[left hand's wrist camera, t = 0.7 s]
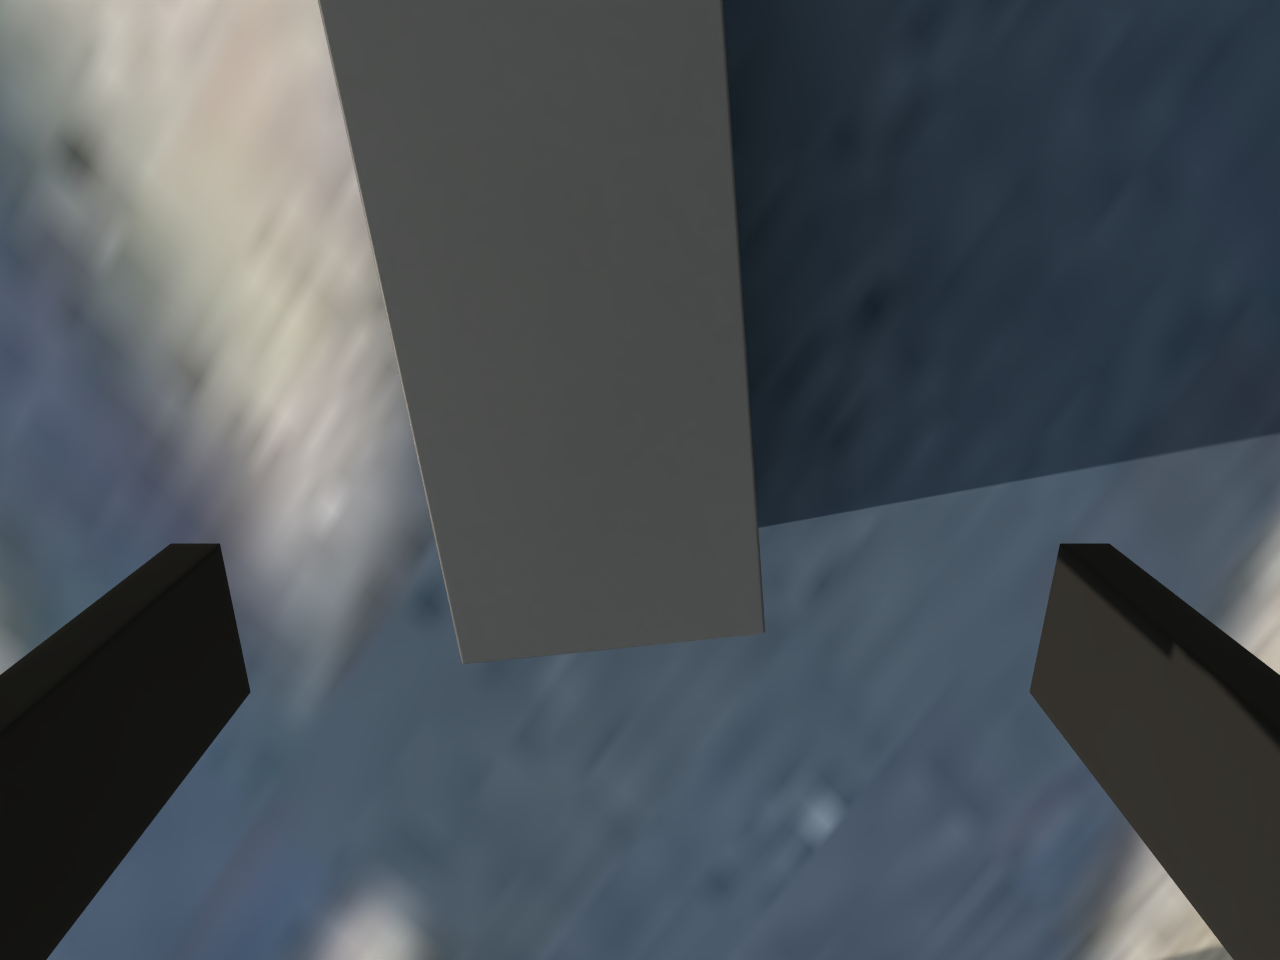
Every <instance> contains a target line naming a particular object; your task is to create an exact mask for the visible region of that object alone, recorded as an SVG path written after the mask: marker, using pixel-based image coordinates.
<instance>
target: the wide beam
mask: <svg viewBox="0 0 1280 960" xmlns="http://www.w3.org/2000/svg"><path fill="white" fill-rule="evenodd" d="M318 3H319V7H320V12H321V17H322V21H323V26H324V30H325V35H326V40H327V44H328V49H329V53H330V58H331V63H332V67H333V72H334V76H335V81H336V86H337V90H338V95H339V99H340V104H341V109H342V113H343V118H344V122H345V127H346V132H347V136H348V141H349V145H350V150H351V155H352V159H353V164H354V168H355V173H356V178H357V182H358V187H359V191H360V196H361V201H362V205H363V210H364V214H365V219H366V224H367V228H368V233H369V237H370V242H371V247H372V251H373V256H374V260H375V265H376V270H377V274H378V279H379V283H380V288H381V293H382V297H383V302H384V306H385V311H386V316H387V320H388V325H389V329H390V334H391V338H392V343H393V348H394V352H395V357H396V361H397V366H398V371H399V375H400V380H401V384H402V389H403V394H404V398H405V403H406V407H407V412H408V417H409V421H410V426H411V430H412V435H413V440H414V444H415V449H416V453H417V458H418V463H419V467H420V472H421V476H422V481H423V486H424V490H425V495H426V499H427V504H428V509H429V513H430V518H431V522H432V527H433V532H434V536H435V541H436V545H437V550H438V555H439V559H440V564H441V568H442V573H443V578H444V582H445V587H446V591H447V596H448V601H449V605H450V610H451V614H452V619H453V624H454V628H455V633H456V637H457V642H458V647H459V651H460V656H461V660H462V663H463V664H469V663H479V662H489V661H499V660H509V659H518V658H528V657H538V656H548V655H558V654H567V653H577V652H587V651H597V650H607V649H616V648H626V647H636V646H646V645H656V644H666V643H675V642H685V641H695V640H705V639H715V638H724V637H734V636H744V635H754V634H763V633H764V632H765V622H764V607H763V592H762V578H761V563H760V548H759V533H758V518H757V503H756V488H755V473H754V458H753V443H752V428H751V413H750V398H749V383H748V368H747V353H746V338H745V323H744V308H743V294H742V279H741V264H740V249H739V234H738V219H737V204H736V189H735V174H734V159H733V144H732V129H731V114H730V99H729V84H728V69H727V54H726V39H725V24H724V10H723V0H318Z"/></svg>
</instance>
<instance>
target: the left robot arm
mask: <svg viewBox="0 0 1280 960" xmlns="http://www.w3.org/2000/svg"><path fill="white" fill-rule="evenodd" d="M249 693H250V688H249V683H248V678H247V673H246V668H245V663H244V659H243V654H242V649H241V644H240V639H239V634H238V629H237V625H236V620H235V615H234V610H233V605H232V600H231V595H230V591H229V586H228V581H227V576H226V571H225V566H224V561H223V556H222V552H221V547H220V544H170V545H168V546H167V547H166V548H165V549H163V550H162V551H161V552H159V553H158V554H157V555H155V556H154V557H153V558H152V559H150V560H149V561H148V562H146V563H145V564H144V565H142V566H141V567H140V568H139V569H137V570H136V571H135V572H133V573H132V574H131V575H130V576H128V577H127V578H126V579H124V580H123V581H122V582H120V583H119V584H118V585H117V586H115V587H114V588H113V589H111V590H110V591H109V592H107V593H106V594H105V595H104V596H102V597H101V598H100V599H98V600H97V601H96V602H94V603H93V604H92V605H91V606H89V607H88V608H87V609H85V610H84V611H83V612H82V613H80V614H79V615H78V616H76V617H75V618H74V619H72V620H71V621H70V622H69V623H67V624H66V625H65V626H63V627H62V628H61V629H59V630H58V631H57V632H56V633H54V634H53V635H52V636H50V637H49V638H48V639H47V640H45V641H44V642H43V643H41V644H40V645H39V646H37V647H36V648H35V649H34V650H32V651H31V652H30V653H28V654H27V655H26V656H24V657H23V658H22V659H21V660H19V661H18V662H17V663H15V664H14V665H13V666H12V667H10V668H9V669H8V670H6V671H5V672H4V673H2V674H1V675H0V960H46V959H47V958H48V957H49V955H50V954H51V953H52V951H53V950H54V949H55V948H56V946H57V945H58V944H59V942H60V941H61V940H62V938H63V937H64V936H65V934H66V933H67V932H68V931H69V929H70V928H71V927H72V925H73V924H74V923H75V921H76V920H77V919H78V917H79V916H80V915H81V913H82V912H83V911H84V910H85V908H86V907H87V906H88V904H89V903H90V902H91V900H92V899H93V898H94V896H95V895H96V894H97V893H98V891H99V890H100V889H101V887H102V886H103V885H104V883H105V882H106V881H107V879H108V878H109V877H110V875H111V874H112V873H113V872H114V870H115V869H116V868H117V866H118V865H119V864H120V862H121V861H122V860H123V858H124V857H125V856H126V855H127V853H128V852H129V851H130V849H131V848H132V847H133V845H134V844H135V843H136V841H137V840H138V839H139V838H140V836H141V835H142V834H143V832H144V831H145V830H146V828H147V827H148V826H149V824H150V823H151V822H152V820H153V819H154V818H155V817H156V815H157V814H158V813H159V811H160V810H161V809H162V807H163V806H164V805H165V803H166V802H167V801H168V800H169V798H170V797H171V796H172V794H173V793H174V792H175V790H176V789H177V788H178V786H179V785H180V784H181V782H182V781H183V780H184V779H185V777H186V776H187V775H188V773H189V772H190V771H191V769H192V768H193V767H194V765H195V764H196V763H197V762H198V760H199V759H200V758H201V756H202V755H203V754H204V752H205V751H206V750H207V748H208V747H209V746H210V744H211V743H212V742H213V741H214V739H215V738H216V737H217V735H218V734H219V733H220V731H221V730H222V729H223V727H224V726H225V725H226V724H227V722H228V721H229V720H230V718H231V717H232V716H233V714H234V713H235V712H236V710H237V709H238V708H239V706H240V705H241V704H242V703H243V701H244V700H245V699H246V697H247V696H248V695H249ZM1030 693H1031V695H1032V696H1033V697H1034V699H1035V700H1036V701H1037V703H1038V704H1039V705H1040V706H1041V708H1042V709H1043V710H1044V712H1045V713H1046V714H1047V716H1048V717H1049V718H1050V720H1051V721H1052V722H1053V724H1054V725H1055V726H1056V727H1057V729H1058V730H1059V731H1060V733H1061V734H1062V735H1063V737H1064V738H1065V739H1066V741H1067V742H1068V743H1069V744H1070V746H1071V747H1072V748H1073V750H1074V751H1075V752H1076V754H1077V755H1078V756H1079V758H1080V759H1081V760H1082V762H1083V763H1084V764H1085V765H1086V767H1087V768H1088V769H1089V771H1090V772H1091V773H1092V775H1093V776H1094V777H1095V779H1096V780H1097V781H1098V782H1099V784H1100V785H1101V786H1102V788H1103V789H1104V790H1105V792H1106V793H1107V794H1108V796H1109V797H1110V798H1111V800H1112V801H1113V802H1114V803H1115V805H1116V806H1117V807H1118V809H1119V810H1120V811H1121V813H1122V814H1123V815H1124V817H1125V818H1126V819H1127V820H1128V822H1129V823H1130V824H1131V826H1132V827H1133V828H1134V830H1135V831H1136V832H1137V834H1138V835H1139V836H1140V838H1141V839H1142V840H1143V841H1144V843H1145V844H1146V845H1147V847H1148V848H1149V849H1150V851H1151V852H1152V853H1153V855H1154V856H1155V857H1156V858H1157V860H1158V861H1159V862H1160V864H1161V865H1162V866H1163V868H1164V869H1165V870H1166V872H1167V873H1168V874H1169V875H1170V877H1171V878H1172V879H1173V881H1174V882H1175V883H1176V885H1177V886H1178V887H1179V889H1180V890H1181V891H1182V893H1183V894H1184V895H1185V896H1186V898H1187V899H1188V900H1189V902H1190V903H1191V904H1192V906H1193V907H1194V908H1195V910H1196V911H1197V912H1198V913H1199V915H1200V916H1201V917H1202V919H1203V920H1204V921H1205V923H1206V924H1207V925H1208V927H1209V928H1210V929H1211V931H1212V932H1213V933H1214V934H1215V936H1216V937H1217V938H1218V940H1219V941H1220V942H1221V944H1222V945H1223V946H1224V948H1225V949H1226V950H1227V951H1228V953H1229V954H1230V955H1231V957H1232V958H1233V959H1234V960H1280V675H1279V674H1278V673H1276V672H1275V671H1274V670H1272V669H1271V668H1270V667H1268V666H1267V665H1266V664H1265V663H1263V662H1262V661H1261V660H1259V659H1258V658H1257V657H1256V656H1254V655H1253V654H1252V653H1250V652H1249V651H1248V650H1246V649H1245V648H1244V647H1243V646H1241V645H1240V644H1239V643H1237V642H1236V641H1235V640H1233V639H1232V638H1231V637H1230V636H1228V635H1227V634H1226V633H1224V632H1223V631H1222V630H1221V629H1219V628H1218V627H1217V626H1215V625H1214V624H1213V623H1211V622H1210V621H1209V620H1208V619H1206V618H1205V617H1204V616H1202V615H1201V614H1200V613H1198V612H1197V611H1196V610H1195V609H1193V608H1192V607H1191V606H1189V605H1188V604H1187V603H1186V602H1184V601H1183V600H1182V599H1180V598H1179V597H1178V596H1176V595H1175V594H1174V593H1173V592H1171V591H1170V590H1169V589H1167V588H1166V587H1165V586H1163V585H1162V584H1161V583H1160V582H1158V581H1157V580H1156V579H1154V578H1153V577H1152V576H1150V575H1149V574H1148V573H1147V572H1145V571H1144V570H1143V569H1141V568H1140V567H1139V566H1138V565H1136V564H1135V563H1134V562H1132V561H1131V560H1130V559H1128V558H1127V557H1126V556H1125V555H1123V554H1122V553H1121V552H1119V551H1118V550H1117V549H1115V548H1114V547H1113V546H1112V545H1110V544H1060V547H1059V552H1058V556H1057V561H1056V566H1055V571H1054V576H1053V581H1052V586H1051V590H1050V595H1049V600H1048V605H1047V610H1046V615H1045V620H1044V625H1043V629H1042V634H1041V639H1040V644H1039V649H1038V654H1037V659H1036V663H1035V668H1034V673H1033V678H1032V683H1031V688H1030Z"/></svg>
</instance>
